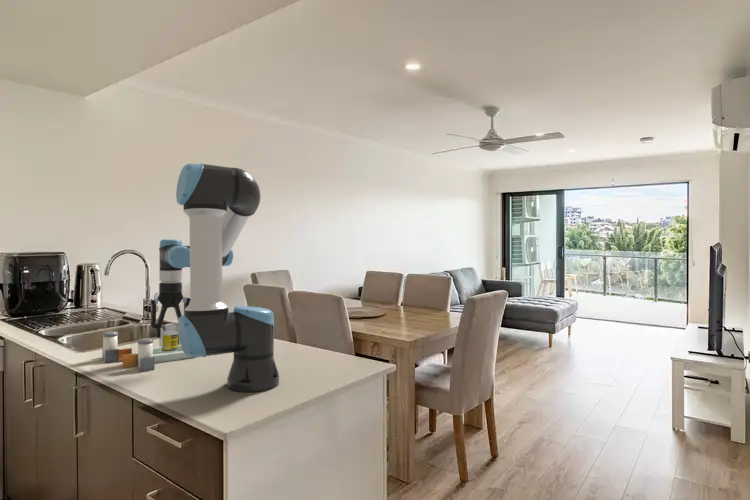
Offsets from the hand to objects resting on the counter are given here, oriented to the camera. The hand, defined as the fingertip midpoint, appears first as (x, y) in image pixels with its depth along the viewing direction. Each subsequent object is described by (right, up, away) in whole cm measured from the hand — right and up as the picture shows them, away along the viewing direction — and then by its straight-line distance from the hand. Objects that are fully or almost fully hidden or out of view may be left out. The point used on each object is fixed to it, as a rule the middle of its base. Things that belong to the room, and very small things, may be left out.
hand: (170, 345), depth 166 cm
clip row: (-11, -4, -9) cm, 15 cm away
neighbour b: (-19, -4, -4) cm, 20 cm away
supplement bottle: (0, -3, 0) cm, 3 cm away
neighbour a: (-2, -5, -14) cm, 15 cm away
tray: (0, -4, 0) cm, 4 cm away
